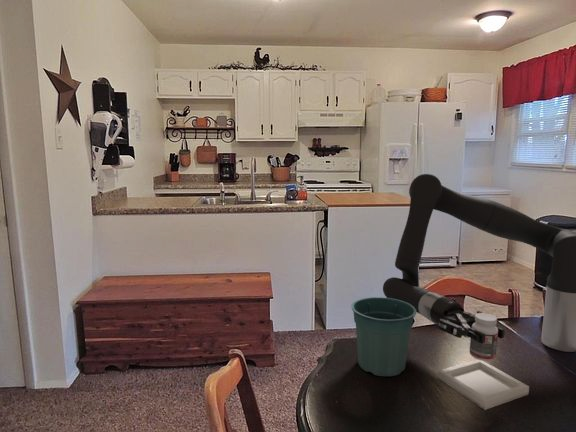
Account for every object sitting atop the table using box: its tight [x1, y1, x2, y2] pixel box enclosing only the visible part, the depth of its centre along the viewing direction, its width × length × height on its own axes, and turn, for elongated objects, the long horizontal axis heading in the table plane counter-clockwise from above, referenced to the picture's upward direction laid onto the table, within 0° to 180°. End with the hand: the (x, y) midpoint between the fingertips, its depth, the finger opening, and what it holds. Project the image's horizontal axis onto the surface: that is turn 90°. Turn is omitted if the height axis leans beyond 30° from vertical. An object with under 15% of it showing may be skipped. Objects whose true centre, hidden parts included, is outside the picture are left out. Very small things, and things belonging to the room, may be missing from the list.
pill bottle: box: [469, 312, 499, 362], centre depth 97 cm, size 6×6×10 cm
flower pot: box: [350, 296, 417, 377], centre depth 108 cm, size 16×16×16 cm
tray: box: [437, 359, 530, 411], centre depth 99 cm, size 14×14×2 cm
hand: (493, 336), depth 95 cm, fingers closed on pill bottle, 5 cm apart
